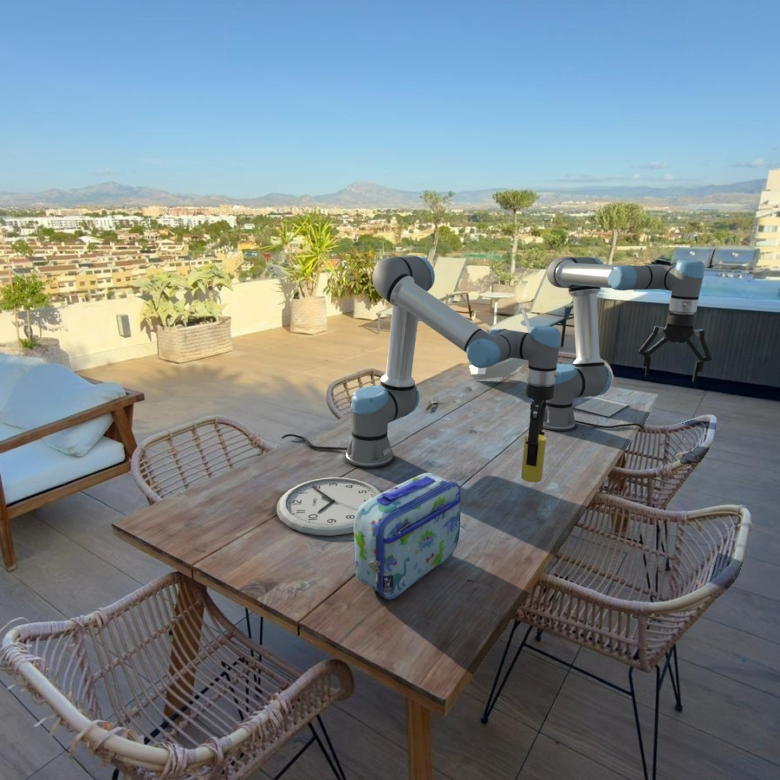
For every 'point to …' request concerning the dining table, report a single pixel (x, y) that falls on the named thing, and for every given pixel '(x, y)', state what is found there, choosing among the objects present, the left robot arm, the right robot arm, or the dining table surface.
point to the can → (536, 471)
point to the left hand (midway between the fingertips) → (532, 460)
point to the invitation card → (601, 406)
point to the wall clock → (324, 505)
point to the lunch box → (406, 533)
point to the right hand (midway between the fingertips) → (669, 378)
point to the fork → (432, 402)
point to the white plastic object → (501, 363)
